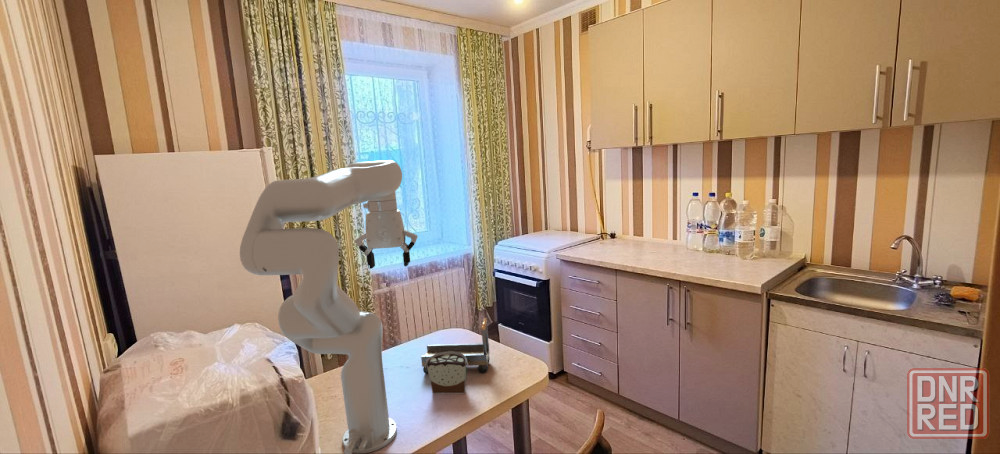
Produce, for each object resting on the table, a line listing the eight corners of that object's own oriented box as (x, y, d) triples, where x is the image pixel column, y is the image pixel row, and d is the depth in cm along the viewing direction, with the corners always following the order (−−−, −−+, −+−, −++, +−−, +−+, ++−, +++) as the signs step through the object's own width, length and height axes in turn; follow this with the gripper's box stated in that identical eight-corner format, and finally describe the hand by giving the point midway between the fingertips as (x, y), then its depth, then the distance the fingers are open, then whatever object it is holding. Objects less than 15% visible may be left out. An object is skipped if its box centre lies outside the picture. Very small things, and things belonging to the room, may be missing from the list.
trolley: (488, 374, 128) (484, 327, 126) (423, 375, 130) (418, 329, 127) (490, 361, 136) (487, 317, 134) (429, 362, 138) (424, 319, 135)
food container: (473, 381, 125) (471, 350, 123) (470, 393, 119) (467, 360, 117) (432, 382, 126) (429, 350, 124) (427, 393, 120) (424, 361, 118)
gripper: (347, 210, 113) (354, 272, 116) (411, 206, 113) (417, 267, 117) (355, 206, 121) (362, 264, 124) (416, 202, 121) (422, 260, 124)
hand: (389, 266), depth 120 cm, fingers open, 9 cm apart
